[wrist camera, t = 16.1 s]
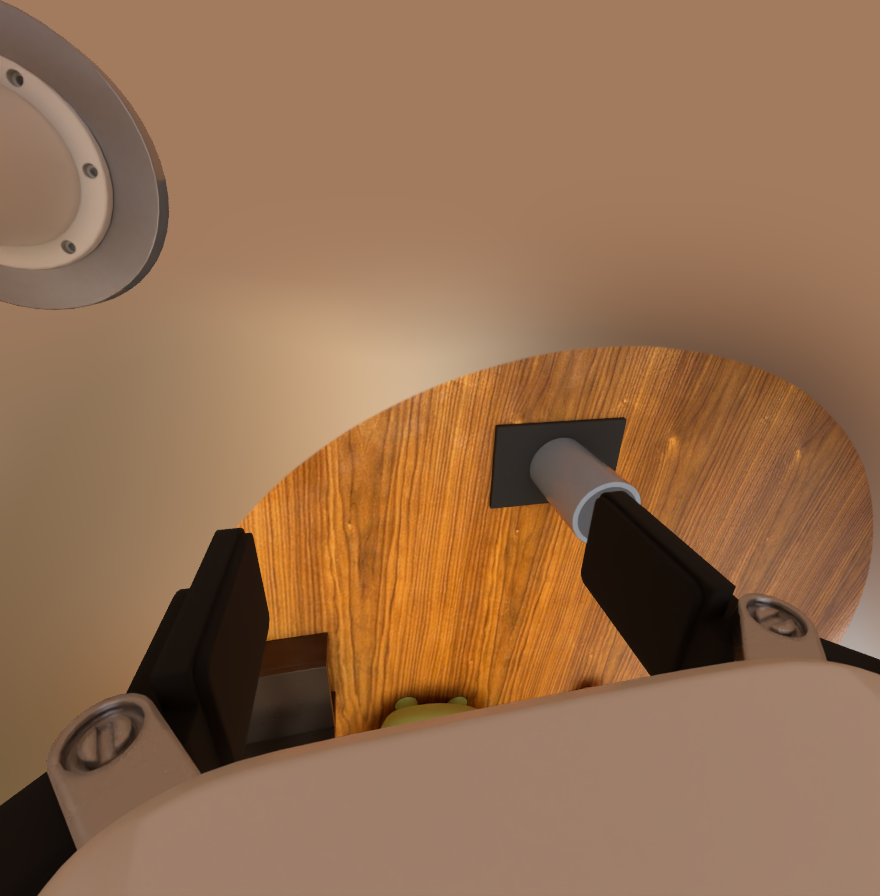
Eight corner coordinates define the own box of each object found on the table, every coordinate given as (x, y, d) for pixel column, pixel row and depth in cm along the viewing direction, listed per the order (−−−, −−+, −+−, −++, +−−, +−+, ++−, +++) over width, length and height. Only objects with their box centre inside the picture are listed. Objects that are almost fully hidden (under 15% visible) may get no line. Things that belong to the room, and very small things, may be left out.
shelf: (240, 713, 54) (223, 791, 47) (222, 647, 49) (199, 722, 42) (336, 697, 57) (334, 768, 49) (327, 632, 52) (324, 700, 44)
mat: (489, 506, 49) (490, 508, 48) (495, 425, 44) (497, 427, 44) (607, 494, 52) (610, 496, 51) (623, 417, 47) (626, 419, 47)
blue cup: (526, 493, 48) (567, 549, 39) (533, 439, 45) (579, 485, 37) (581, 488, 50) (633, 541, 41) (590, 435, 47) (649, 479, 38)
